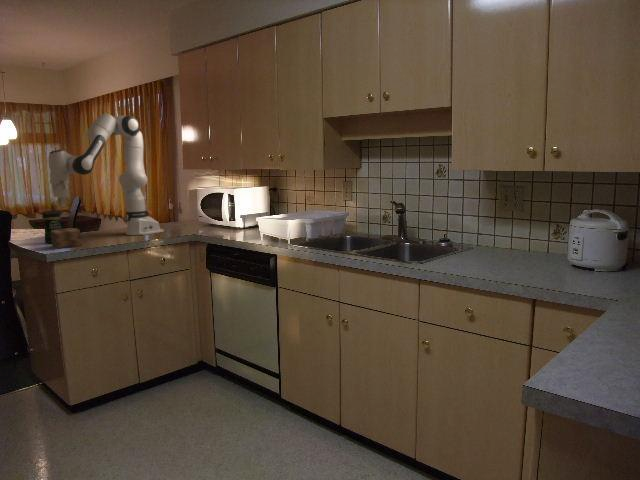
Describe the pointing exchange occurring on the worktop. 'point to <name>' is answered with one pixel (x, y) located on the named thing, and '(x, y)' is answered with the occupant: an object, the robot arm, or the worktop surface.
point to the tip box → (66, 238)
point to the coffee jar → (51, 223)
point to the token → (59, 207)
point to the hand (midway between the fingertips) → (62, 206)
